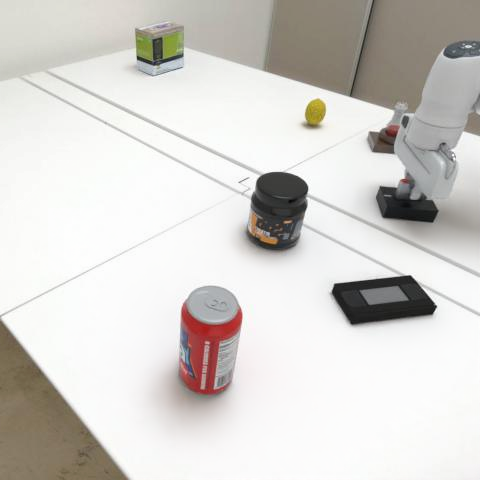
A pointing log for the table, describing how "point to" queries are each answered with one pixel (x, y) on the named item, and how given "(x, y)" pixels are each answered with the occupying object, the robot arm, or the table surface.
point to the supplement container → (277, 210)
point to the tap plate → (405, 207)
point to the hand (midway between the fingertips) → (409, 193)
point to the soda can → (209, 339)
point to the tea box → (159, 47)
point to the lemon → (315, 111)
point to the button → (393, 130)
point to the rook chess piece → (398, 114)
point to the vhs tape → (383, 299)
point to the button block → (381, 141)
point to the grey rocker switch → (405, 190)
